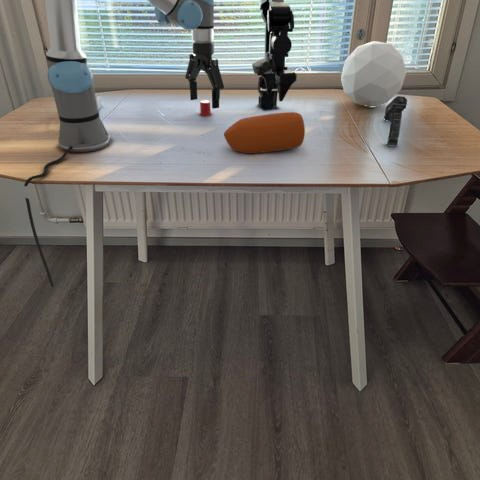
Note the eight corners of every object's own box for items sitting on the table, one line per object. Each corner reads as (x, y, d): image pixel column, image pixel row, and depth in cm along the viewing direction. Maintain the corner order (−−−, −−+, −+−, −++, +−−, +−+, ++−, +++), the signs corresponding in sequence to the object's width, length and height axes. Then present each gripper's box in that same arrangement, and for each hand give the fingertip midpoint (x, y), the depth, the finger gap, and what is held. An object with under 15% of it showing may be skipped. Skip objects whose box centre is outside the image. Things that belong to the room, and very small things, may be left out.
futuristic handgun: (389, 146, 153) (397, 104, 149) (399, 145, 125) (409, 94, 122) (379, 144, 154) (386, 103, 150) (386, 144, 126) (395, 93, 122)
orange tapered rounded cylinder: (228, 162, 123) (308, 151, 124) (223, 128, 117) (309, 117, 118) (224, 147, 133) (299, 137, 134) (220, 115, 127) (299, 104, 128)
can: (212, 114, 155) (212, 101, 153) (205, 116, 153) (204, 103, 150) (205, 112, 158) (205, 99, 155) (198, 114, 155) (197, 101, 153)
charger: (106, 102, 166) (96, 114, 153) (83, 102, 165) (72, 114, 153) (104, 90, 163) (94, 101, 151) (80, 90, 163) (69, 101, 150)
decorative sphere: (326, 73, 174) (348, 26, 151) (380, 71, 178) (409, 25, 155) (338, 120, 167) (363, 79, 144) (393, 117, 171) (427, 77, 148)
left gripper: (234, 45, 135) (233, 109, 147) (191, 36, 151) (193, 94, 163) (216, 47, 131) (217, 113, 143) (174, 37, 147) (177, 97, 158)
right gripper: (244, 46, 139) (243, 92, 148) (268, 56, 125) (265, 107, 134) (273, 44, 143) (270, 90, 151) (299, 54, 128) (295, 104, 137)
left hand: (204, 103), depth 153 cm, fingers open, 13 cm apart
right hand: (274, 97), depth 143 cm, fingers open, 9 cm apart
